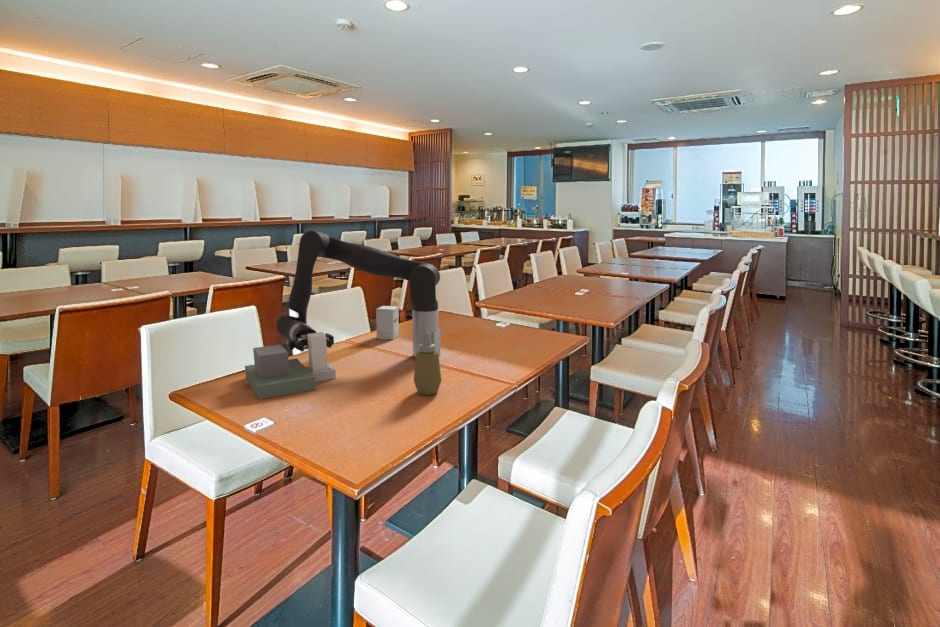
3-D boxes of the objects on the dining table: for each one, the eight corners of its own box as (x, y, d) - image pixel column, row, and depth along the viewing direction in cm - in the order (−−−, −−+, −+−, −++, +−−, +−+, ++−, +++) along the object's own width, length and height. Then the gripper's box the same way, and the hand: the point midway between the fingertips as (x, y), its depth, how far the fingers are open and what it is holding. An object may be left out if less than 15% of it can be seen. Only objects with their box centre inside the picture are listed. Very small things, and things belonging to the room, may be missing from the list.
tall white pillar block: (324, 374, 171) (321, 332, 168) (328, 378, 167) (325, 335, 164) (309, 376, 169) (307, 333, 166) (313, 380, 165) (311, 337, 162)
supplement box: (393, 340, 214) (392, 309, 211) (376, 339, 215) (375, 308, 213) (399, 335, 221) (398, 306, 218) (382, 334, 222) (381, 305, 220)
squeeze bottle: (414, 388, 158) (413, 329, 155) (441, 387, 159) (440, 329, 155) (413, 397, 151) (412, 336, 147) (442, 396, 151) (441, 336, 148)
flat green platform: (322, 366, 179) (320, 334, 177) (342, 384, 161) (341, 350, 159) (245, 378, 167) (242, 344, 165) (258, 399, 149) (255, 362, 146)
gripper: (280, 327, 176) (292, 337, 162) (323, 322, 183) (338, 332, 170) (282, 349, 177) (294, 361, 164) (324, 343, 185) (339, 354, 171)
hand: (316, 346), depth 167 cm, fingers open, 8 cm apart
